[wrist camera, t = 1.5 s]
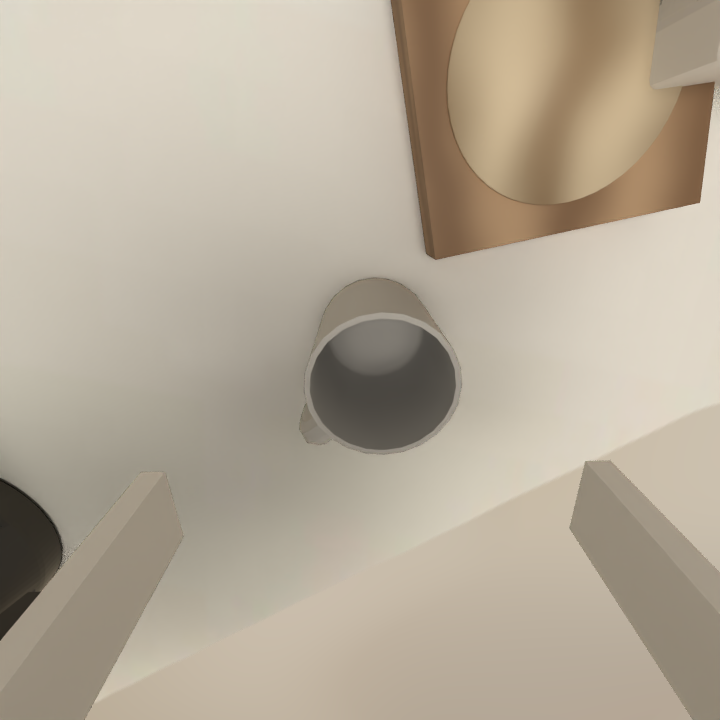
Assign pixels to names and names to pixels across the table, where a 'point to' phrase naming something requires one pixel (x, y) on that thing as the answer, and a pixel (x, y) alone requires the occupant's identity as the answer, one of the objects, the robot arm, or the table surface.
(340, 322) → the cup
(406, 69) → the pedestal
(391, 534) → the table surface
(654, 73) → the container
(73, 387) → the table surface
